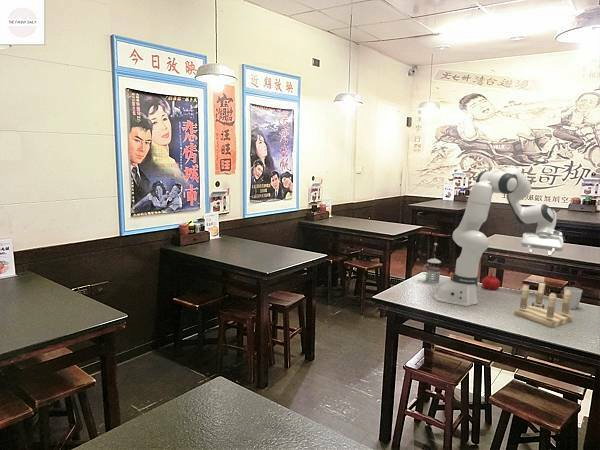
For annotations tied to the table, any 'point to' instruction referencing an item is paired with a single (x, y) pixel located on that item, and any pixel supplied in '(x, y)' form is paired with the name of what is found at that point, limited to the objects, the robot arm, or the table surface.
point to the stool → (545, 310)
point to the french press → (433, 272)
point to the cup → (574, 296)
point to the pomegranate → (490, 282)
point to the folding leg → (540, 292)
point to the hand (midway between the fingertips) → (539, 254)
